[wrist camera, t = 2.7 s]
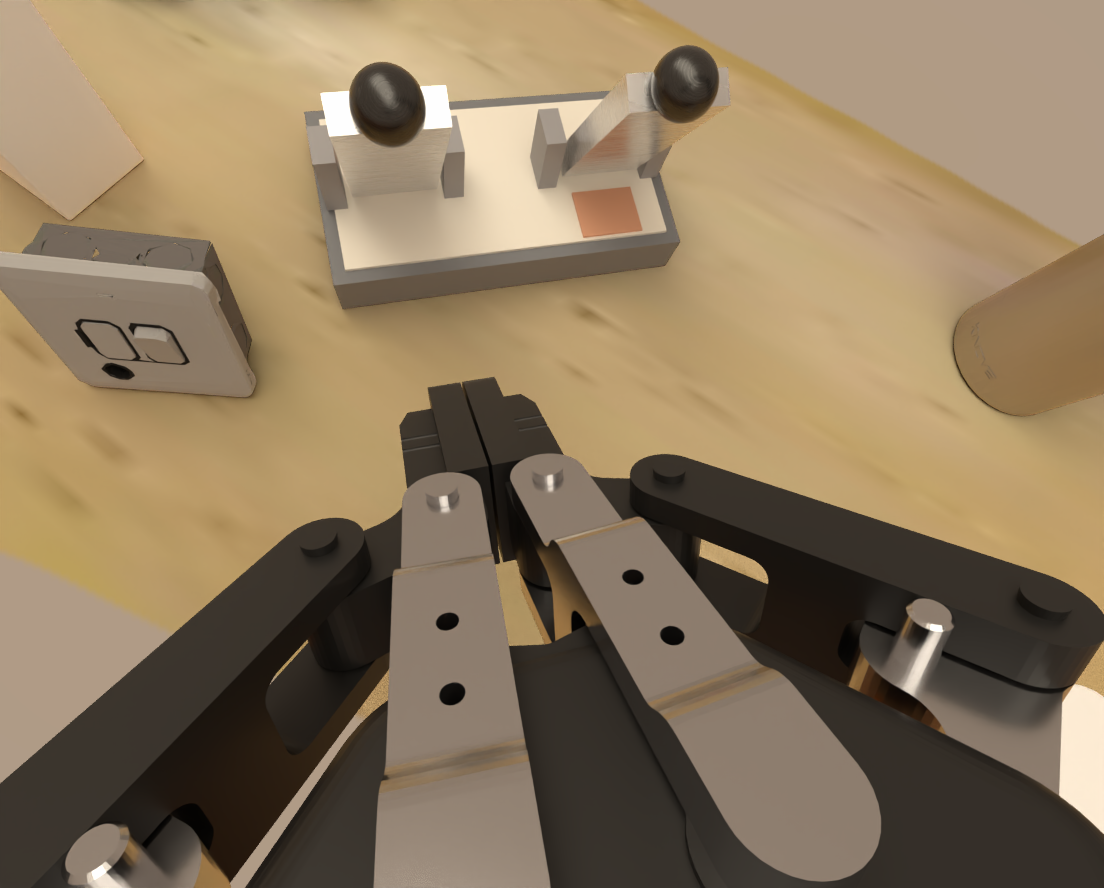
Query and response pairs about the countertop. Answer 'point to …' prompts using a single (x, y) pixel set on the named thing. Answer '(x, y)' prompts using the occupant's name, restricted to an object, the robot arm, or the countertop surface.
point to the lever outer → (389, 131)
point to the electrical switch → (132, 310)
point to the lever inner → (648, 113)
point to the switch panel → (492, 209)
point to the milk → (54, 118)
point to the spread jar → (1083, 753)
